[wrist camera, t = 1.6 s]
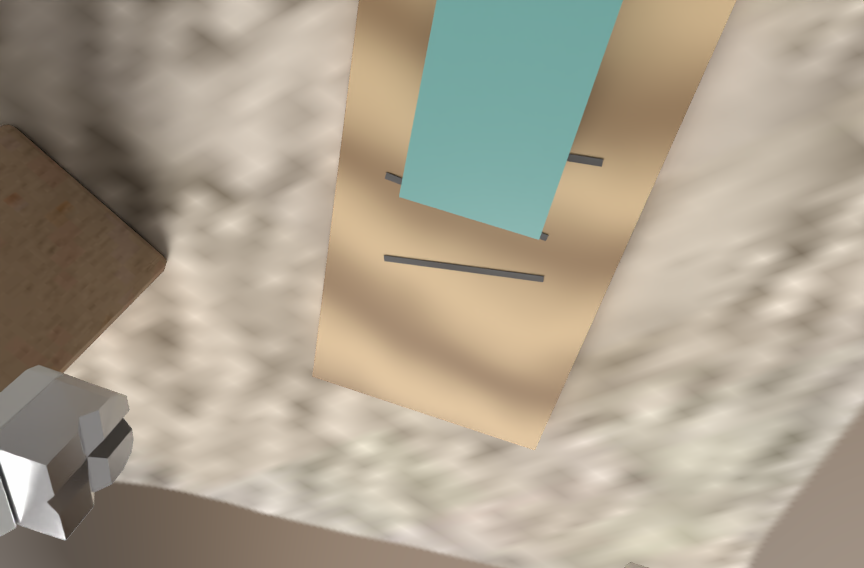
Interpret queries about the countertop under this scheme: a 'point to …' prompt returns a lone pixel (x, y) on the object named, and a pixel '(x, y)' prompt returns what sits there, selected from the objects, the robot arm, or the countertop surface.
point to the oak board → (492, 227)
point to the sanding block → (503, 105)
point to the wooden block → (59, 262)
